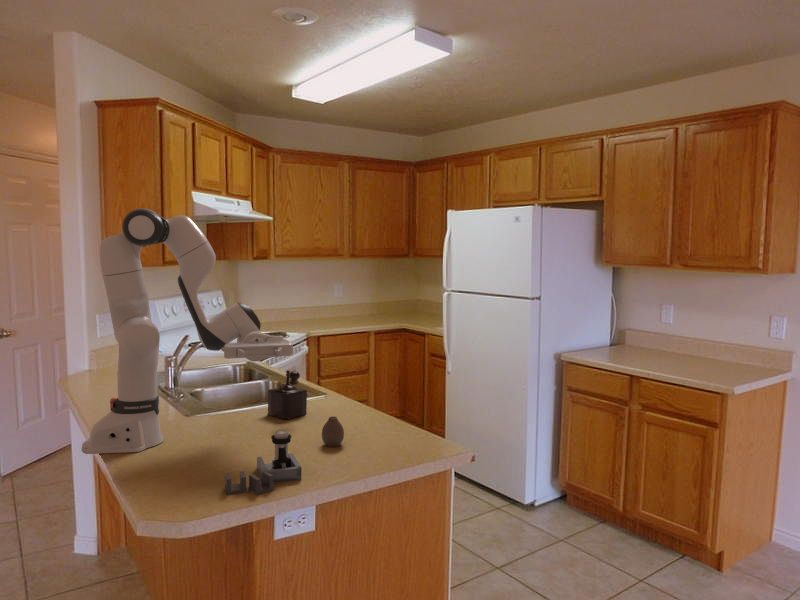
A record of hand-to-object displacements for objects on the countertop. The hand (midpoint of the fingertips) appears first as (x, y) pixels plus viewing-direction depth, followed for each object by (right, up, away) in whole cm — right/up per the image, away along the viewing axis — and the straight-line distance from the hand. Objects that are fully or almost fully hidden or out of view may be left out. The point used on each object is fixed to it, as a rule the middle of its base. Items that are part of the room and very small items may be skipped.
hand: (262, 354), depth 167 cm
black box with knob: (0, -27, +43) cm, 50 cm away
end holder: (+7, -31, -12) cm, 34 cm away
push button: (+7, -30, -11) cm, 33 cm away
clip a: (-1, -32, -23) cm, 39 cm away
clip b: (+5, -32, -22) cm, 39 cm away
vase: (+19, -30, +13) cm, 37 cm away
